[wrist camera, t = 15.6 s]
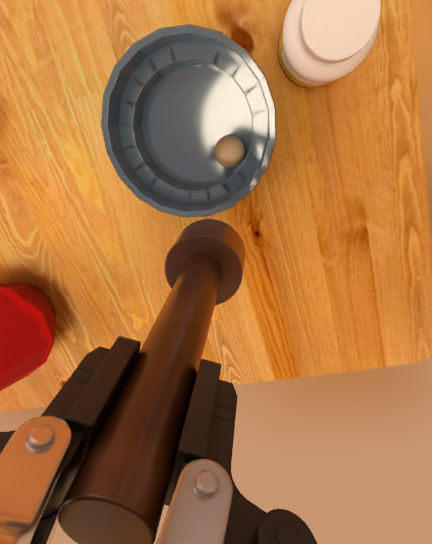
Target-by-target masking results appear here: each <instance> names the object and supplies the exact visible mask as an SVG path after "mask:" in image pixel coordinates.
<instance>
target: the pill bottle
mask: <svg viewBox="0 0 432 544" xmlns="http://www.w3.org/2000/svg"><path fill="white" fill-rule="evenodd" d="M380 12H381V0H292V2H291V4H290V6H289V8H288V10H287V13H286V16H285V19H284V23H283V27H282V30H281V34H280V38H279V43H278V58H279V63H280V66H281V69H282V71H283V73H284V74H285V76H286V77H287V78H288V79H289V80H290V81H291V82H293V83H294V84H296V85H298V86H301V87H305V88H315V87H320V86H323V85H325V84H327V83H329V82H332V81H335V80H337V79H339V78H341V77H343V76H345V75H347V74H348V73H350V72H351V71H353V70H354V69H355V68H356V67H357V66H358V65H359V64H360V63H361V62H362V61H363V60H364V59H365V57H366V56H367V55H368V53H369V51H370V50H371V48H372V46H373V44H374V41H375V39H376V35H377V32H378V27H379V18H380Z"/></svg>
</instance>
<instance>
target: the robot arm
mask: <svg viewBox="0 0 432 544" xmlns="http://www.w3.org/2000/svg"><path fill="white" fill-rule="evenodd" d="M140 345H141V343H140V341H136V340H132V339H129V338H125V337H121V336H119V337H118V338H117V340H116V341H115V343H114V344H113V346H112V347H111V349H107V348H103V347H98V348H97V349H95V350H93V351H92V352H90V353H88V354H87V355H86V356H85V357H84V359H83V360H82V361H81V363H80V364H79V366H78V368H76V370H75V371H74V372H73V374H72V375H71V378H69V379H68V380H67V382H66V383H65V384H64V386H63V387H62V388H61V390H60V391H59V393H58V394H57V395H56V397H55V398H54V399H53V401H52V402H51V403H50V405H49V406H48V407H47V409H46V410H45V412H44V413H43V414H42V415H41V416H40V417H37V418H33V419H31V420H29V421H27V422H25V423H24V424H22V425H21V426H20V427H19V428H18V429H17V430H14V431H10V432H0V544H50V542H51V539H52V537H53V534H54V532H55V529H56V527H57V524H58V522H59V521H58V509H59V507H60V505H61V503H62V501H63V499H64V497H65V495H66V493H67V491H68V489H69V487H70V485H71V483H72V481H73V479H74V478H75V476H76V474H77V472H78V470H79V468H80V466H81V464H82V462H83V460H84V458H85V456H86V454H87V452H88V451H89V449H90V447H91V445H92V443H93V442H94V440H95V438H96V436H97V434H98V432H99V430H100V428H101V426H102V424H103V422H104V420H105V418H106V416H107V414H108V412H109V411H110V409H111V407H112V405H113V403H114V401H115V399H116V397H117V395H118V393H119V391H120V389H121V387H122V385H123V383H124V381H125V380H126V378H127V376H128V374H129V372H130V370H131V368H132V366H133V364H134V362H135V360H136V358H137V356H138V354H139V351H140ZM220 369H221V364H219V363H215V362H212V361H208V360H204V359H201V361H200V364H199V368H198V372H197V375H196V379H195V383H194V387H193V391H192V395H191V399H190V402H189V406H188V410H187V414H186V418H185V422H184V426H183V429H182V433H181V437H180V441H179V445H178V449H177V453H176V457H175V460H174V464H173V468H172V472H171V478H170V483H169V487H168V491H167V495H166V499H165V503H164V505H168V506H169V508H168V512H167V514H166V517H165V520H164V523H163V526H162V529H161V531H160V534H159V537H158V540H157V543H156V544H317V542H316V540H315V538H314V536H313V534H312V532H311V531H310V529H309V528H308V526H307V525H306V524H305V522H304V521H303V520H302V519H301V518H300V517H298V516H297V515H296V514H294V513H292V512H290V511H288V510H284V509H275V510H272V511H269V512H268V513H266V512H264V511H263V510H261V509H260V508H259V507H257V506H256V505H254V504H253V503H251V502H250V501H248V500H247V499H246V498H245V497H244V496H243V495H242V494H241V493H240V492H239V490H238V489H237V487H236V486H235V484H234V481H233V479H232V475H231V459H232V448H233V436H234V425H235V424H234V423H235V415H236V405H237V394H236V392H235V389H234V386H233V384H232V383H229V382H226V381H222V380H219V375H220Z"/></svg>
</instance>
